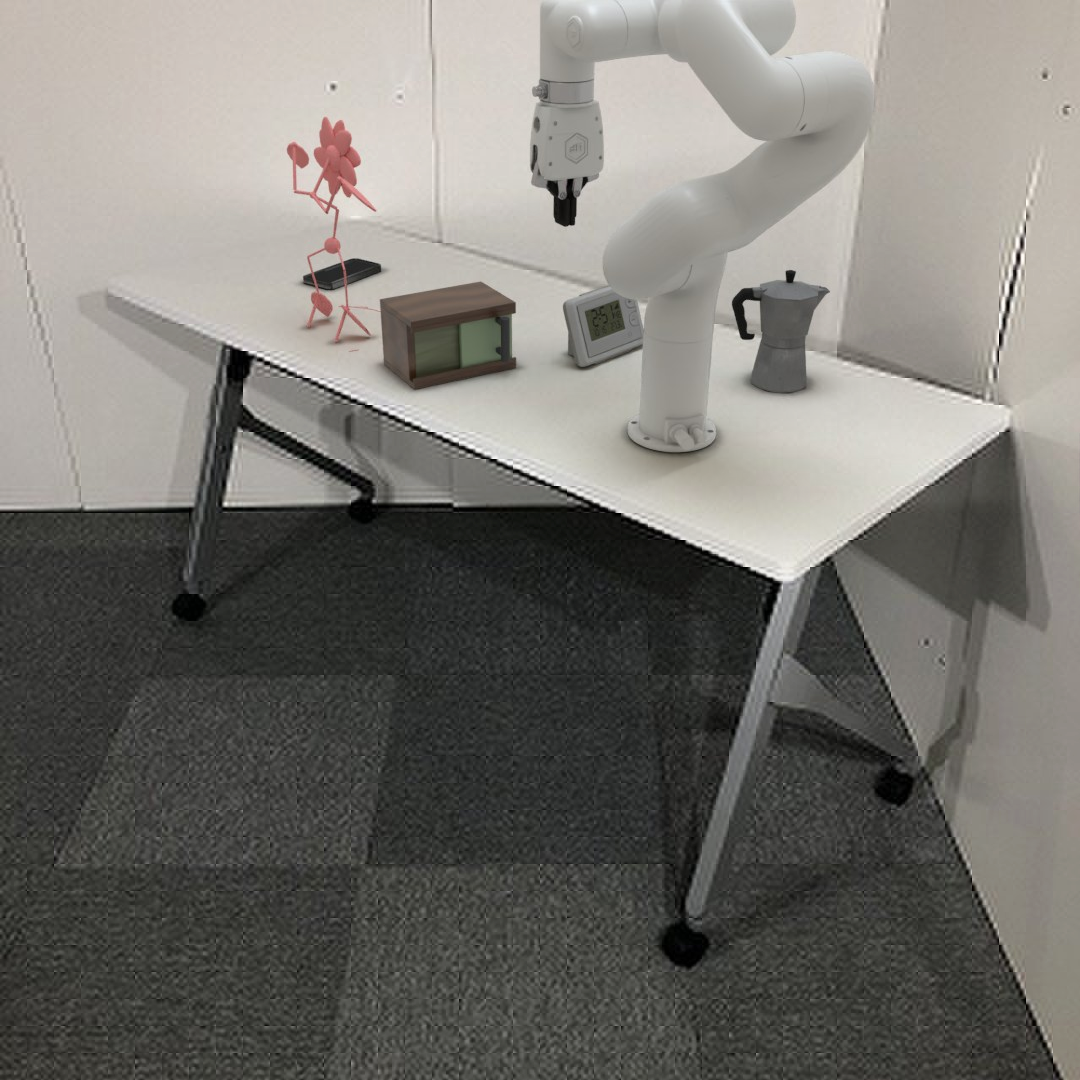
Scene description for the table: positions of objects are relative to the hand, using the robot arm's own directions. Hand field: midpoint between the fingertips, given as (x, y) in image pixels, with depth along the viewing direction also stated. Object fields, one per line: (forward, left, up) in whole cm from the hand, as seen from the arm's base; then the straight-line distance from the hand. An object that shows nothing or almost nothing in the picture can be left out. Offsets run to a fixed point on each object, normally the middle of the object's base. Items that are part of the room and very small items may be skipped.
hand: (564, 223), depth 175 cm
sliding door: (+6, +10, -24) cm, 27 cm away
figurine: (+33, +28, -25) cm, 50 cm away
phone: (+61, +27, -25) cm, 71 cm away
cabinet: (+12, +16, -25) cm, 32 cm away
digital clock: (+10, -10, -25) cm, 29 cm away
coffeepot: (-8, -32, -25) cm, 42 cm away
